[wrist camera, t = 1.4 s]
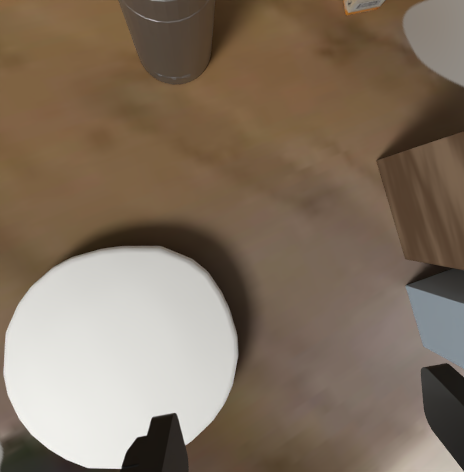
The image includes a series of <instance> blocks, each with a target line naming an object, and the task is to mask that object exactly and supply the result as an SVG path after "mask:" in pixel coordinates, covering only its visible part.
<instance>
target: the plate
mask: <svg viewBox="0 0 464 472" xmlns="http://www.w3.org/2000/svg"><path fill="white" fill-rule="evenodd" d="M237 360H238V335H237V332H236V329H235V325H234V322H233V318H232V315H231V311H230V308H229V306H228V304H227V302H226V300H225V298H224V296H223V294H222V291H221V290H220V289H219V287H218V286H217V284H216V283H215V281H214V280H213V278H212V277H211V275H210V274H209V272H208V271H207V270H205V269H204V268H203V267H202V266H201V265H199V264H198V263H197V262H196V261H194V260H193V259H191V258H189V257H186V256H184V255H182V254H179V253H177V252H174V251H172V250H169V249H167V248H165V247H162V246H119V247H112V248H104V249H99V250H95V251H92V252H88V253H85V254H81V255H77V256H74V257H71V258H69V259H67V260H65V261H64V262H62V263H60V264H58V265H56V266H54V267H53V268H52V269H51V270H49V271H48V272H47V273H46V274H45V275H44V276H42V277H41V278H40V279H39V280H38V281H37V282H35V283H34V284H33V285H32V286H31V288H30V289H29V290H28V292H27V293H26V294H25V296H24V297H23V298H22V300H21V301H20V303H19V304H18V306H17V308H16V310H15V313H14V315H13V317H12V320H11V322H10V324H9V326H8V329H7V331H6V338H5V356H4V379H5V384H6V389H7V394H8V396H9V399H10V401H11V403H12V405H13V407H14V409H15V411H16V413H17V415H18V417H19V419H20V420H21V422H22V423H23V424H24V426H25V427H26V428H27V429H28V431H29V432H30V433H31V435H33V436H34V437H35V438H36V439H37V440H39V441H40V442H41V443H42V444H43V445H44V446H46V447H47V448H48V449H50V450H51V451H53V452H55V453H56V454H58V455H60V456H61V457H63V458H65V459H66V460H69V461H71V462H74V463H76V464H79V465H81V466H84V467H86V468H109V469H122V467H121V466H122V463H123V460H124V457H125V454H126V451H127V450H128V449H129V447H130V446H131V445H132V444H133V442H134V441H135V440H136V438H137V437H141V436H147V433H148V429H149V426H150V422H151V419H152V417H154V416H160V415H165V414H171V413H176V414H177V416H178V420H179V424H180V427H181V431H182V435H183V439H184V443H185V445H187V444H188V443H190V442H191V441H192V440H193V439H194V438H195V437H196V436H197V435H199V434H200V433H201V432H202V431H203V430H204V429H205V428H206V427H207V426H208V425H209V424H210V423H211V422H212V421H213V420H214V418H215V417H216V415H217V414H218V412H219V411H220V410H221V408H222V407H223V405H224V403H225V401H226V399H227V397H228V394H229V392H230V390H231V388H232V385H233V381H234V376H235V370H236V365H237Z"/></svg>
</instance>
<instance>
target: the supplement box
mask: <svg viewBox="0 0 464 472" xmlns="http://www.w3.org/2000/svg"><path fill="white" fill-rule="evenodd" d="M384 1H385V0H343V2H344V9H345V14H346V15H350V14H356V13H361V12H366V11H371V10H375V9H378V8H379V7H380V6H381V5H382V3H383V2H384Z"/></svg>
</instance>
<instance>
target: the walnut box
mask: <svg viewBox="0 0 464 472" xmlns="http://www.w3.org/2000/svg"><path fill="white" fill-rule="evenodd" d="M377 165H378V168H379V171H380V175H381V178H382V182H383V185H384V188H385V192H386V195H387V198H388V202H389V205H390V209H391V212H392V215H393V219H394V222H395V226H396V229H397V232H398V236H399V239H400V243H401V246H402V249H403V253H404V256H405V259H407V260H413V261H418V262H423V263H429V264H434V265H439V266H445V267H450V268H455V269H461V270H464V131H463V132H460V133H457V134H454V135H451V136H448V137H445V138H442V139H439V140H436V141H433V142H430V143H427V144H424V145H421V146H418V147H415V148H412V149H409V150H406V151H403V152H401V153H398V154H395V155H392V156H389V157H386V158H383V159H380V160H377Z"/></svg>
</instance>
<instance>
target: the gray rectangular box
mask: <svg viewBox="0 0 464 472" xmlns="http://www.w3.org/2000/svg"><path fill="white" fill-rule="evenodd" d="M406 289H407V292H408V295H409V299H410V302H411V305H412V309H413V312H414V316H415V319H416V322H417V326H418V329H419V332H420V336H421V339H422V343H423V346H424V347H426V348H428V349H429V350H431V351H433V352H435V353H437V354H438V355H440V356H442V357H444V358H446V359H447V360H449V361H451V362H453V363H455V364H456V365H458V366H460V367H462V368H463V369H464V270H461V269H455V268H453V269H450V270H447V271H444V272H442V273H439V274H436V275H433V276H431V277H428V278H425V279H422V280H420V281H417V282H414V283H411V284H408V285H406Z"/></svg>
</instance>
